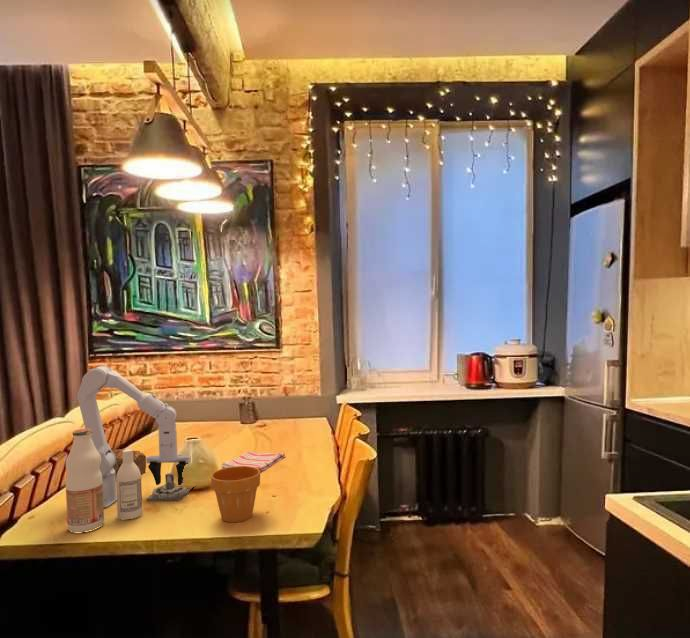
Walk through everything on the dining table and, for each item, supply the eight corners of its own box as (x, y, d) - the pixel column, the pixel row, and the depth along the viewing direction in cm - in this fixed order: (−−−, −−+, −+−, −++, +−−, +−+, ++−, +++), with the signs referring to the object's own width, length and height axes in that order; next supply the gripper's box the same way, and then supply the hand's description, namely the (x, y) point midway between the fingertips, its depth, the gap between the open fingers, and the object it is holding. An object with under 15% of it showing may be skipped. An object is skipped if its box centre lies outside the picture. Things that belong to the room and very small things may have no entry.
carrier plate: (179, 501, 167) (178, 489, 167) (146, 501, 168) (145, 489, 168) (196, 485, 182) (196, 474, 182) (166, 485, 183) (165, 474, 183)
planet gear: (177, 495, 170) (177, 477, 170) (156, 496, 170) (155, 478, 170) (183, 488, 177) (183, 470, 177) (163, 489, 177) (162, 471, 177)
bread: (86, 480, 192) (85, 454, 192) (102, 471, 203) (101, 446, 202) (134, 480, 190) (133, 453, 190) (147, 471, 201) (147, 446, 201)
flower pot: (240, 504, 163) (239, 463, 163) (271, 514, 154) (269, 470, 154) (202, 519, 152) (201, 474, 152) (233, 530, 143) (231, 484, 143)
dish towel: (219, 472, 199) (219, 462, 199) (250, 455, 221) (249, 447, 221) (259, 475, 193) (258, 466, 193) (286, 458, 215) (286, 449, 215)
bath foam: (146, 515, 156) (144, 449, 156) (123, 523, 151) (121, 454, 150) (136, 510, 161) (133, 446, 160) (113, 517, 155) (111, 450, 155)
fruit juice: (74, 537, 142) (70, 435, 141) (62, 528, 148) (58, 431, 148) (109, 526, 149) (105, 429, 148) (96, 518, 155) (92, 425, 155)
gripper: (193, 440, 176) (194, 480, 176) (152, 440, 178) (154, 480, 178) (185, 445, 169) (186, 487, 169) (142, 446, 171) (144, 487, 171)
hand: (169, 484), depth 173 cm, fingers open, 7 cm apart
